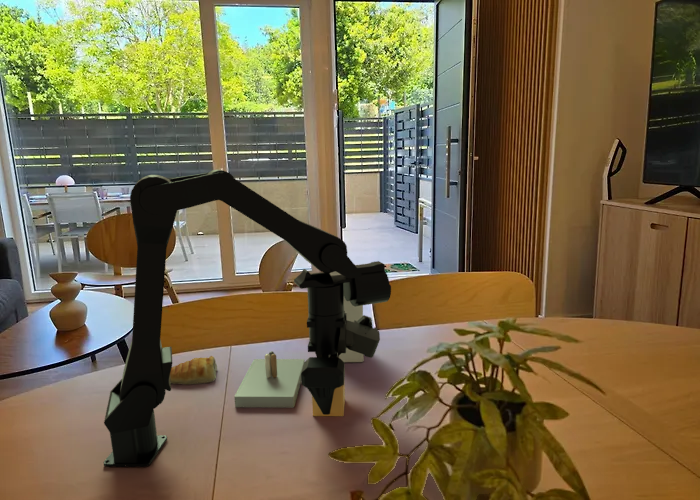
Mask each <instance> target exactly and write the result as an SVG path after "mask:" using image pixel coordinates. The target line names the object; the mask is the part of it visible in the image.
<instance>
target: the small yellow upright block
mask: <svg viewBox="0 0 700 500" xmlns="http://www.w3.org/2000/svg"><path fill="white" fill-rule="evenodd" d="M345 381H346V379H345V378H344V385H342V386H341V387H338V388H336V389H335V390H334V395H333V400H332V405H331V411H330V414H329V415H324V414H323V413H322V412H321V410H320V408H319V406H318V405H317V403H316V401H315V399H314V398H313V396H312V395H311V399H312V400H311V401H312V402H311V403H312V416H313V417H344V415H345V404H346V397H345V396H346V392H345V391H346V389H345V386H346V384H345V383H346V382H345Z"/></svg>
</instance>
